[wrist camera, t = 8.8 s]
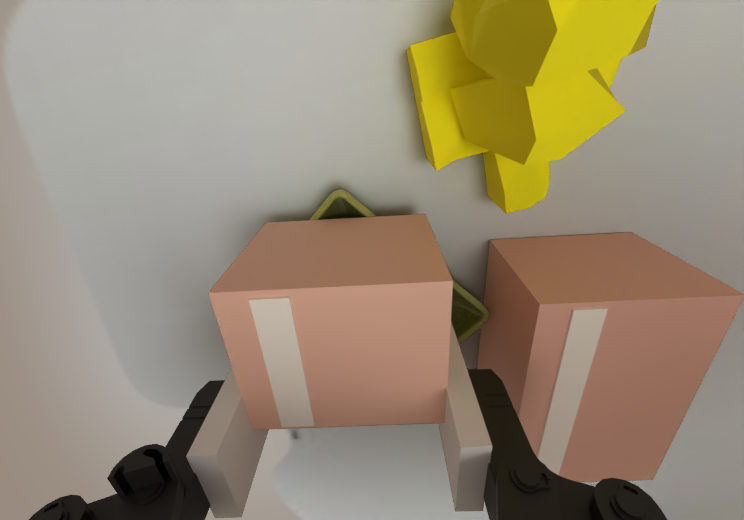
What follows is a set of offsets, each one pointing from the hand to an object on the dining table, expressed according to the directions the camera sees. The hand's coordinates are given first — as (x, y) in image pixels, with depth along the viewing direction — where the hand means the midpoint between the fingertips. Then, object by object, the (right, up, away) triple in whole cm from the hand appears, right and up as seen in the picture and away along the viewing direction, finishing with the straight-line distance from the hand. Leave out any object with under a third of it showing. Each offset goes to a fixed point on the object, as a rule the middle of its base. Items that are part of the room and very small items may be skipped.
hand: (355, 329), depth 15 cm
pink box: (0, +2, -1) cm, 2 cm away
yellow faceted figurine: (+5, +9, -2) cm, 11 cm away
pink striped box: (+9, 0, +2) cm, 9 cm away
